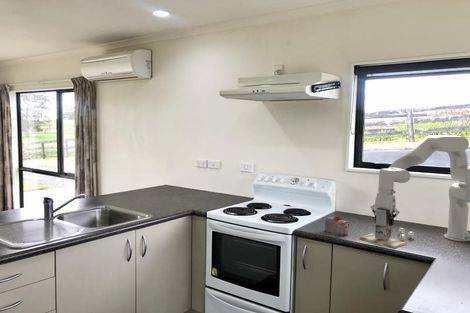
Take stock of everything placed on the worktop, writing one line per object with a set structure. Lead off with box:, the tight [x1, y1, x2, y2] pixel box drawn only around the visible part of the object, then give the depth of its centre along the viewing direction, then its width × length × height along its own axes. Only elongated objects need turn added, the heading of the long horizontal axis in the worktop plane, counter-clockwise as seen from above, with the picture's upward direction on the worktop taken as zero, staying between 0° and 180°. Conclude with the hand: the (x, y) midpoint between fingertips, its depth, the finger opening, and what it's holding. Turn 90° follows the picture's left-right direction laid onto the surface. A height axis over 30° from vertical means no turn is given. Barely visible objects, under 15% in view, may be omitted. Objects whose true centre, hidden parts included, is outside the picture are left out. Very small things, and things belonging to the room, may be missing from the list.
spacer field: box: [398, 227, 415, 243], centre depth 220 cm, size 17×16×4 cm
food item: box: [324, 216, 350, 237], centre depth 224 cm, size 14×8×10 cm, turn 41°
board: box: [359, 233, 407, 249], centre depth 211 cm, size 20×12×1 cm, turn 40°
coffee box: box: [374, 208, 393, 240], centre depth 210 cm, size 9×6×16 cm
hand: (383, 223), depth 210 cm, fingers closed on coffee box, 7 cm apart
